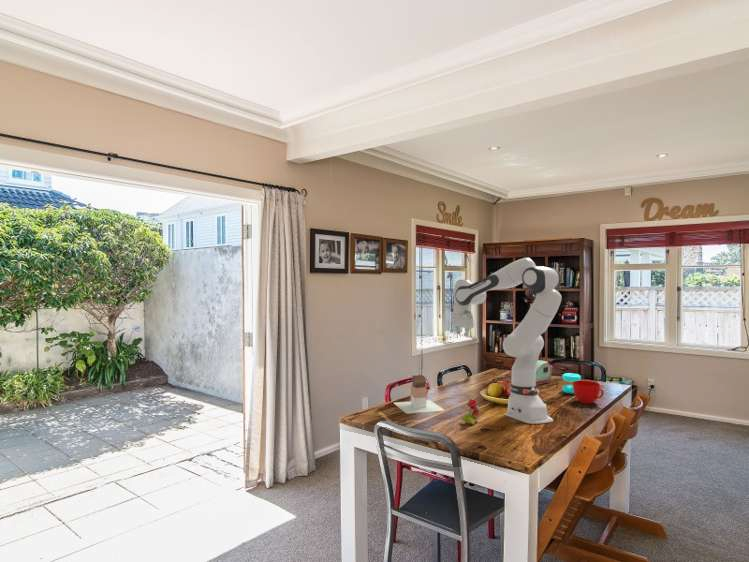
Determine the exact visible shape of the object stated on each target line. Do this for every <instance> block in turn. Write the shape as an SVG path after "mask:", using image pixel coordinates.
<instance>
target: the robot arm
mask: <svg viewBox="0 0 749 562" xmlns="http://www.w3.org/2000/svg"><path fill="white" fill-rule="evenodd" d="M562 280H563V277H562V274H561V272H560V271H559V270H557V269H556V268H553V267H547V266H543V265H542V266H539V265H536V263H535V262H534V260H533V259H531V258H530V257H523V258H519V259H517V260H514V261H513V262H510V263H508V264H507V265H505V266H504V267H501V268H500V269H498V270H497V271H495V272H493V273H491V274H489V275H487V276H486V277H484V278H482V279H480V280H477V281H475V282H472V281H470V279H459V280H457V281H455V284H454V288H453V289H454V291H453V297H454V302H453V303H454V304H453V307H451V308H450V321H451V325H452V326H453V327H455V331H456V332H455V334H456V335H461V329H460V328H464V333H463V337H469V332H470V329H474V326H475V325H474V324H475V323H474V322H475V321H474V316H473V314H472V311H471V308H472V307H471V306H472V305H481V304H483V303H484V302H485V301H486V299H487V297H488V296H487V292H489V291H493V290H504V289H505V290H506V289H511V288H514V287H517V286H519V285H521V284H523V285H524V286H525V287H526V288H527V289H529V291H530V293H532V294H535V299H534V300H533V302H532V305H531V306H530V307H529V309H528V311H527V313H526V314H525V316H524V318H523V319H522V320H521V321H520V323H519V324H518V325H517V326H516V327H515V328H514V329H513V331H512V332H511V333H510V334H509V335H508V336H506V337H505V338H504V339H503V341H502V348H503V351H504V354H506V355H507V356H510V357H514V358H515V361H514V363H513V365H512V367H511V383H510V386H509V388H510V389H509V390H510V395H509V397H508V400H507V402H508V403H507V411H506V412H505V416H506V417H509V418H511V419H514V420H517V421H519V422H522V423H525V424H529V425H530V424H533V425H535V424H536V425H537V424H538V425H540V424H548V423H552V422H554V419H553V418H552V417H551V416H549V415H548V408H547V407H548V406H547V404H546V403H544V401H543V400H542V399H541V397H540V396H539V392H540V391H539V390H540V389H539V388H538V387H537V386H538V385H536V366H537V362H538V360H539V357H540V353H541V352H542V350H543V348H544V345H545V341H544V338H543V336H542V334H544V333H545V332H546V331H547V330H548V328H549V326H550V325H551V323H552V321H553V319H554V318H555V316H556V314H557V313H558V311H559V307H560V305H561V302H562V299H563V298H562V294H561V293H560V292H559V291H558V290H556V289H558V288H559V287H560V286H561V284H562Z"/></svg>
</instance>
